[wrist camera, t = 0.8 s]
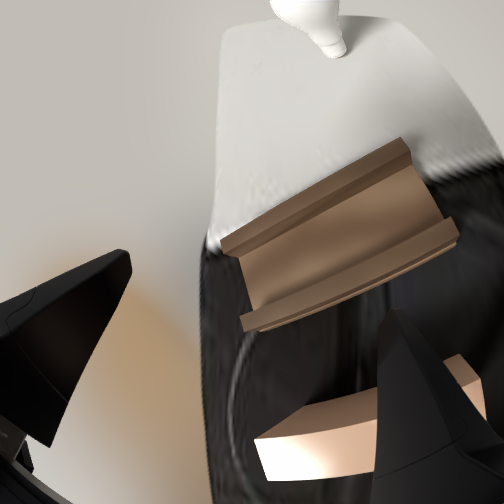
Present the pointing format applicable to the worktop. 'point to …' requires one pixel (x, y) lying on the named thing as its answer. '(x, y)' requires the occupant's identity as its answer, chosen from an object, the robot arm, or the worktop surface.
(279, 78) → the worktop surface
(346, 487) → the worktop surface
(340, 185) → the track
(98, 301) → the robot arm
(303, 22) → the lightbulb
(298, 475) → the tan rectangular block
